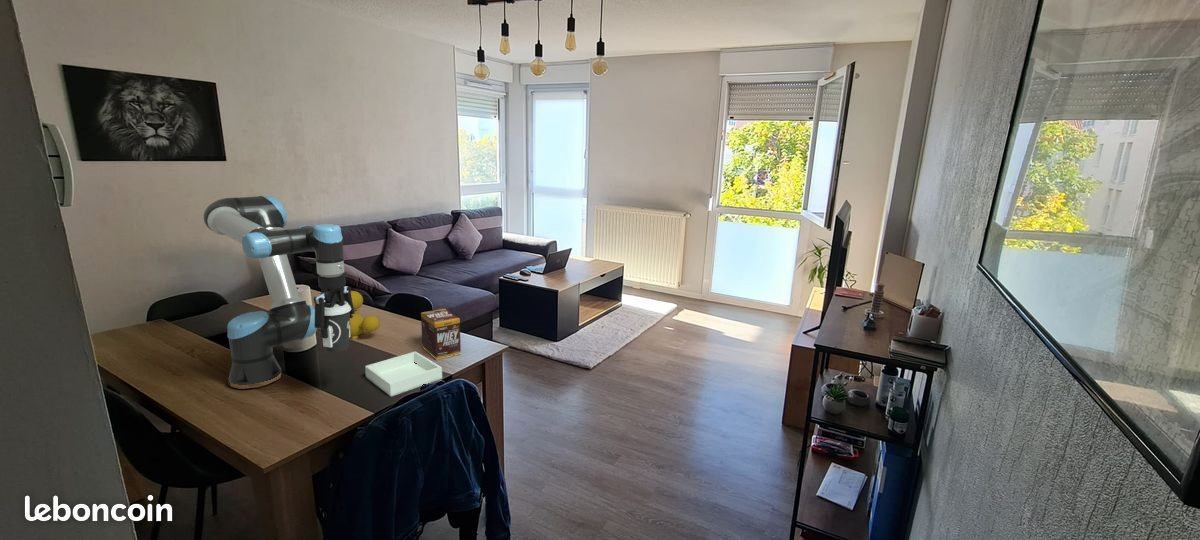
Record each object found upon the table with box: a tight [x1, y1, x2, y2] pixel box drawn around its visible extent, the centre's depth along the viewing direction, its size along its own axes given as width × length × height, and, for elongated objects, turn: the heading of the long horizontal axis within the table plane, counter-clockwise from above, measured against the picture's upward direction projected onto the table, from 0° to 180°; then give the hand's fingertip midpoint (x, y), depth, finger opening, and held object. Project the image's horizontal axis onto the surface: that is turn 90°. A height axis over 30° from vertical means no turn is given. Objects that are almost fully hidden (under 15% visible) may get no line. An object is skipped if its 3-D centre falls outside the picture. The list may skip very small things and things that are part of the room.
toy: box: [350, 290, 381, 340], centre depth 207 cm, size 26×10×20 cm, turn 63°
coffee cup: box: [324, 301, 351, 353], centre depth 157 cm, size 10×10×15 cm
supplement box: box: [420, 308, 462, 359], centre depth 197 cm, size 10×15×16 cm
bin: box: [364, 351, 443, 397], centre depth 175 cm, size 19×19×4 cm
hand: (337, 341), depth 158 cm, fingers closed on coffee cup, 7 cm apart
